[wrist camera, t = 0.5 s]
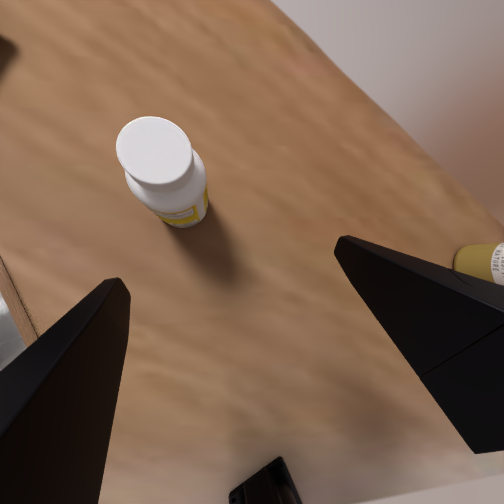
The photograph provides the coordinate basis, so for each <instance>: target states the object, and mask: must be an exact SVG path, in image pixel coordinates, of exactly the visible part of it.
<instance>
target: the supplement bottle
mask: <svg viewBox="0 0 504 504" xmlns="http://www.w3.org/2000/svg"><path fill="white" fill-rule="evenodd" d="M116 151H117V156H118V159H119V161H120V163H121V165H122V167H123V168H124V169H125V176H126V180H127V183H128V186H129V188H130V189H131V191H132V192H133V194H134V195H135V196H136V197H137V198H138V200H139V201H141V202H142V203H143V204H144V205H145V206H146V207H148V208H149V209H150V210H151V211H152V212H153V213H155V214H156V215H157V216H158V217H159V218H160V219H162V220H163V221H164V222H166V223H167V224H169V225H171V226H174V227H178V228H186V227H191V226H194V225H196V224H197V223H199V222H200V221H201V220H202V219H203V218H204V216H205V214H206V212H207V208H208V193H207V177H206V171H205V167H204V164H203V162H202V160H201V158H200V157H199V155H198V154H197V153H196V152H195V151H194V150H193V149H192V147H191V144H190V141H189V139H188V137H187V136H186V134H185V133H184V132H183V131H182V130H181V129H180V128H179V127H178V126H177V125H175V124H174V123H172V122H170V121H168V120H166V119H163V118H159V117H141V118H138V119H135V120H133V121H131V122H130V123H128V124H127V125H126V126H125V127H124V128H123V129H122V130H121V132H120V134H119V136H118V138H117V143H116Z"/></svg>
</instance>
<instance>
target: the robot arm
mask: <svg viewBox="0 0 504 504" xmlns="http://www.w3.org/2000/svg"><path fill="white" fill-rule="evenodd" d="M334 255H335V257H336V259H337V260H338V262H339V264H340V266H341V267H342V269H343V271H344V272H345V274H346V276H347V278H348V279H349V281H350V282H351V284H352V285H353V287H354V288H355V290H356V291H357V292H358V294H359V295H360V296H361V298H362V299H363V301H364V302H365V303H366V305H367V306H368V308H369V309H370V310H371V312H372V313H373V314H374V316H375V317H376V319H377V320H378V321H379V323H380V324H381V326H382V327H383V328H384V330H385V331H386V332H387V334H388V335H389V337H390V338H391V339H392V341H393V342H394V344H395V345H396V346H397V348H398V349H399V350H400V352H401V353H402V355H403V356H404V357H405V359H406V360H407V362H408V363H409V364H410V366H411V367H412V368H413V370H414V371H415V373H416V374H417V375H418V377H419V378H420V380H421V381H422V383H423V384H424V385H425V387H426V388H427V390H428V391H429V392H430V394H431V395H432V397H433V398H434V399H435V401H436V402H437V403H438V405H439V406H440V408H441V409H442V410H443V412H444V413H445V415H446V416H447V417H448V419H449V420H450V421H451V423H452V424H453V426H454V427H455V428H456V430H457V431H458V433H459V434H460V435H461V437H462V438H463V440H464V441H465V442H466V444H467V445H468V446H469V448H470V449H471V450H472V451H473V452H474V453H475V454H481V453H489V452H496V451H504V286H503V285H500V284H496V283H493V282H490V281H486V280H483V279H480V278H477V277H474V276H471V275H467V274H464V273H461V272H458V271H455V270H452V269H449V268H446V267H443V266H440V265H437V264H434V263H431V262H428V261H425V260H422V259H419V258H416V257H413V256H410V255H407V254H404V253H401V252H398V251H395V250H392V249H389V248H386V247H383V246H380V245H377V244H374V243H371V242H368V241H365V240H362V239H359V238H356V237H353V236H350V235H346V236H341V237H340V238H339V239H338V241H337V244H336V247H335V249H334ZM130 302H131V296H130V292H129V291H128V289H127V287H126V286H125V284H124V283H123V281H122V280H121V279H120V278H118V277H116V278H111V279H106V280H104V281H103V282H102V283H100V284H99V285H98V286H97V287H96V288H95V289H94V290H92V291H91V292H90V293H89V294H88V295H87V296H86V297H84V298H83V299H82V300H81V301H80V302H79V303H78V304H76V305H75V306H74V307H73V308H72V309H71V310H70V311H68V312H67V313H66V314H65V315H64V316H63V317H62V318H60V319H59V320H58V321H57V322H56V323H55V324H54V325H53V326H51V327H50V328H49V329H48V330H47V331H46V332H45V333H43V334H42V335H41V336H40V337H39V338H38V339H37V340H35V341H34V342H33V343H32V344H31V345H30V346H29V347H27V348H26V349H25V350H24V351H23V352H22V353H21V354H19V355H18V356H17V357H16V358H15V359H14V360H13V361H11V362H10V363H9V364H8V365H7V366H6V367H5V368H3V369H2V370H1V371H0V504H98V501H99V495H100V490H101V484H102V479H103V474H104V468H105V463H106V457H107V452H108V446H109V441H110V436H111V430H112V425H113V419H114V414H115V409H116V403H117V398H118V392H119V387H120V381H121V376H122V371H123V365H124V360H125V354H126V349H127V343H128V335H129V320H130ZM279 463H280V464H279ZM229 504H302V502H301V500H300V498H299V495H298V493H297V491H296V488H295V486H294V484H293V481H292V479H291V477H290V474H289V472H288V470H287V467H286V465H285V462H284V460H283V458H282V457H278V458H276V459H275V460H273V461H272V462H271V463H269V464H268V465H267V466H265V467H264V468H263V469H261V470H260V471H258V472H257V473H256V474H254V475H253V476H252V477H250V478H249V479H248V480H246V481H245V482H243V483H242V484H241V485H239V486H238V487H237V488H235V489H234V490H233V491H231V492H230V494H229Z"/></svg>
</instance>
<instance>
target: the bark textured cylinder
mask: <svg viewBox="0 0 504 504" xmlns="http://www.w3.org/2000/svg"><path fill="white" fill-rule="evenodd" d="M453 268H454V270H455V271H458V272H461V273H464V274H467V275H471V276H474V277H477V278H480V279H483V280H486V281H490V282H493V283H496V284H500V285H503V286H504V243H494V244H479V245H468V246H465V247H463V248H461V249H460V250H459V251H458V252H457V254H456V256H455V258H454V263H453Z"/></svg>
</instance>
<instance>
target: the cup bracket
mask: <svg viewBox="0 0 504 504" xmlns="http://www.w3.org/2000/svg"><path fill="white" fill-rule="evenodd" d="M37 339H38V337H37V335H36V333H35V331H34V329H33V327H32V324H31V322H30V320H29V318H28V316H27V314H26V312H25V309H24V307H23V305H22V303H21V301H20V299H19V297H18V295H17V292H16V290H15V288H14V286H13V284H12V282H11V280H10V278H9V275H8V273H7V271H6V269H5V267H4V265H3V263H2V260H1V258H0V371H1V370H2V369H3V368H5V367H6V366H7V365H8V364H9V363H10V362H11V361H13V360H14V359H15V358H16V357H17V356H18V355H19V354H21V353H22V352H23V351H24V350H25V349H26V348H27V347H29V346H30V345H31V344H32V343H33V342H34V341H35V340H37Z"/></svg>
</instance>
